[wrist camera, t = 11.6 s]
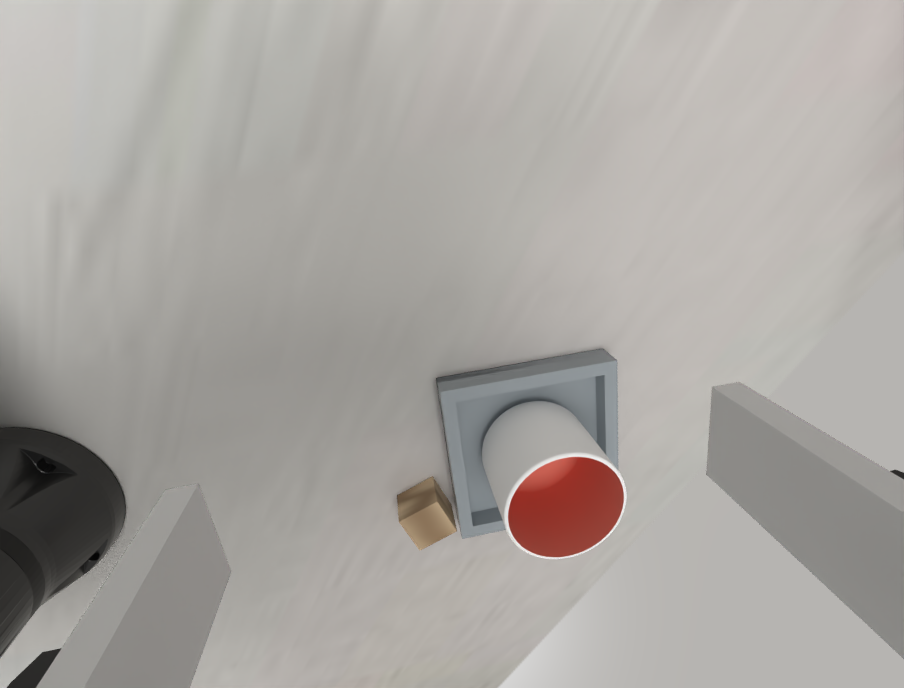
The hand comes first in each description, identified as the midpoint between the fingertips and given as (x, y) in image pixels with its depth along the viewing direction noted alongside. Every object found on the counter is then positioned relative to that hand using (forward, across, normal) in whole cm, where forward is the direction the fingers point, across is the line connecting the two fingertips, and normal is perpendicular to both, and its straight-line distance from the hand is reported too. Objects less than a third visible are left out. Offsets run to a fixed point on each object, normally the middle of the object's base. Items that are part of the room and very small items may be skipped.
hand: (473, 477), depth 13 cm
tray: (+31, +9, -19) cm, 37 cm away
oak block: (+31, -2, -24) cm, 39 cm away
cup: (+30, +9, -19) cm, 37 cm away
